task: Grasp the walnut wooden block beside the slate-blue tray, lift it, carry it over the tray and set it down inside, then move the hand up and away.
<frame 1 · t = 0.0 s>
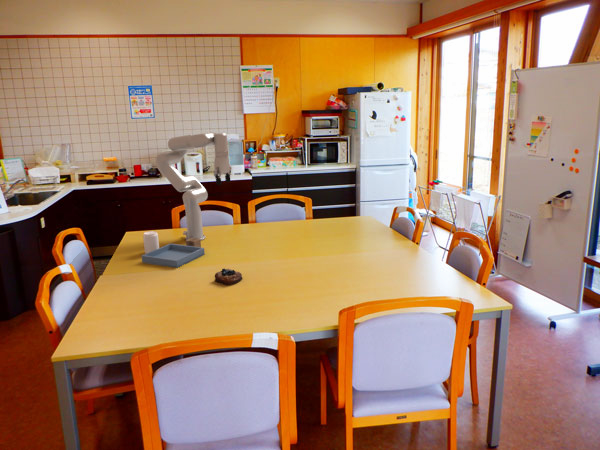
hand: (223, 183, 283), 37 cm above the table, tool pointing down, fingers open, 9 cm apart
beverage can: (152, 253, 276), on the table
pastry: (228, 281, 231), on the table
walnut block: (193, 249, 280), on the table
slate tray: (174, 258, 265), on the table
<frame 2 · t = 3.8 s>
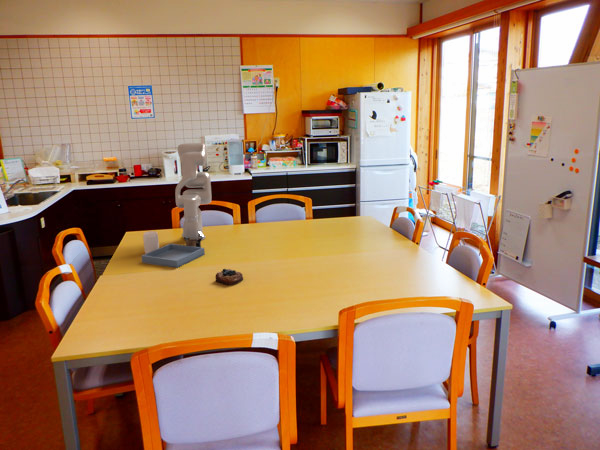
hand: (193, 248, 280), 1 cm above the table, tool pointing down, fingers closed on walnut block, 6 cm apart
walnut block: (193, 249, 280), on the table, touching gripper
everything else where it was.
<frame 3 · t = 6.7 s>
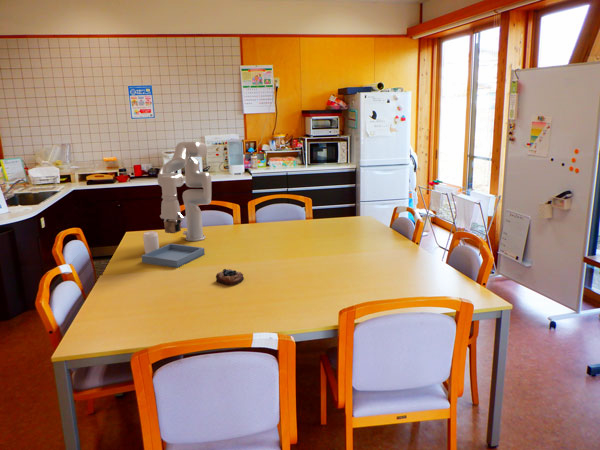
hand: (172, 230, 261), 16 cm above the table, tool pointing down, fingers closed on walnut block, 6 cm apart
walnut block: (173, 231, 262), point 15 cm above the table, touching gripper
everything else where it was.
when the fingers open (4 cm above the table, at t = 9.5 s): walnut block drops 2 cm, resting on slate tray.
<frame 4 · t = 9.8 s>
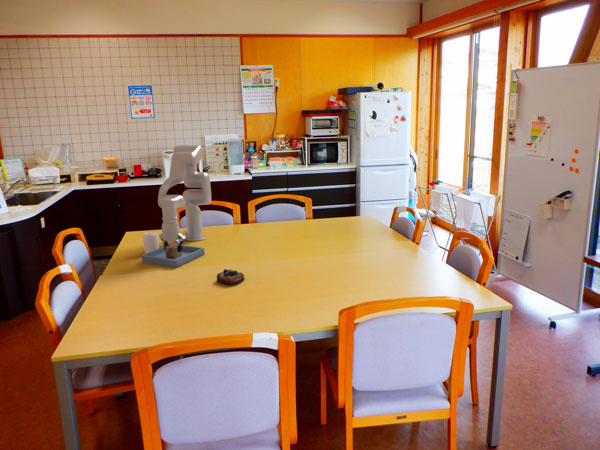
hand: (173, 250, 263), 5 cm above the table, tool pointing down, fingers open, 8 cm apart
walnut block: (174, 256, 264), point 1 cm above the table, touching slate tray
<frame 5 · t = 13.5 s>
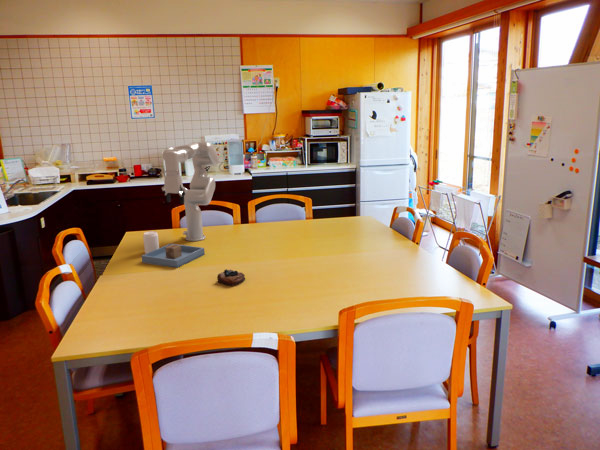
hand: (175, 202, 274), 28 cm above the table, tool pointing down, fingers open, 9 cm apart
at the end: walnut block inside the target area on the slate tray (0.1 cm from its centre), point 1.0 cm above the slate tray's base; walnut block tilted 0°; the gripper is holding nothing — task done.
